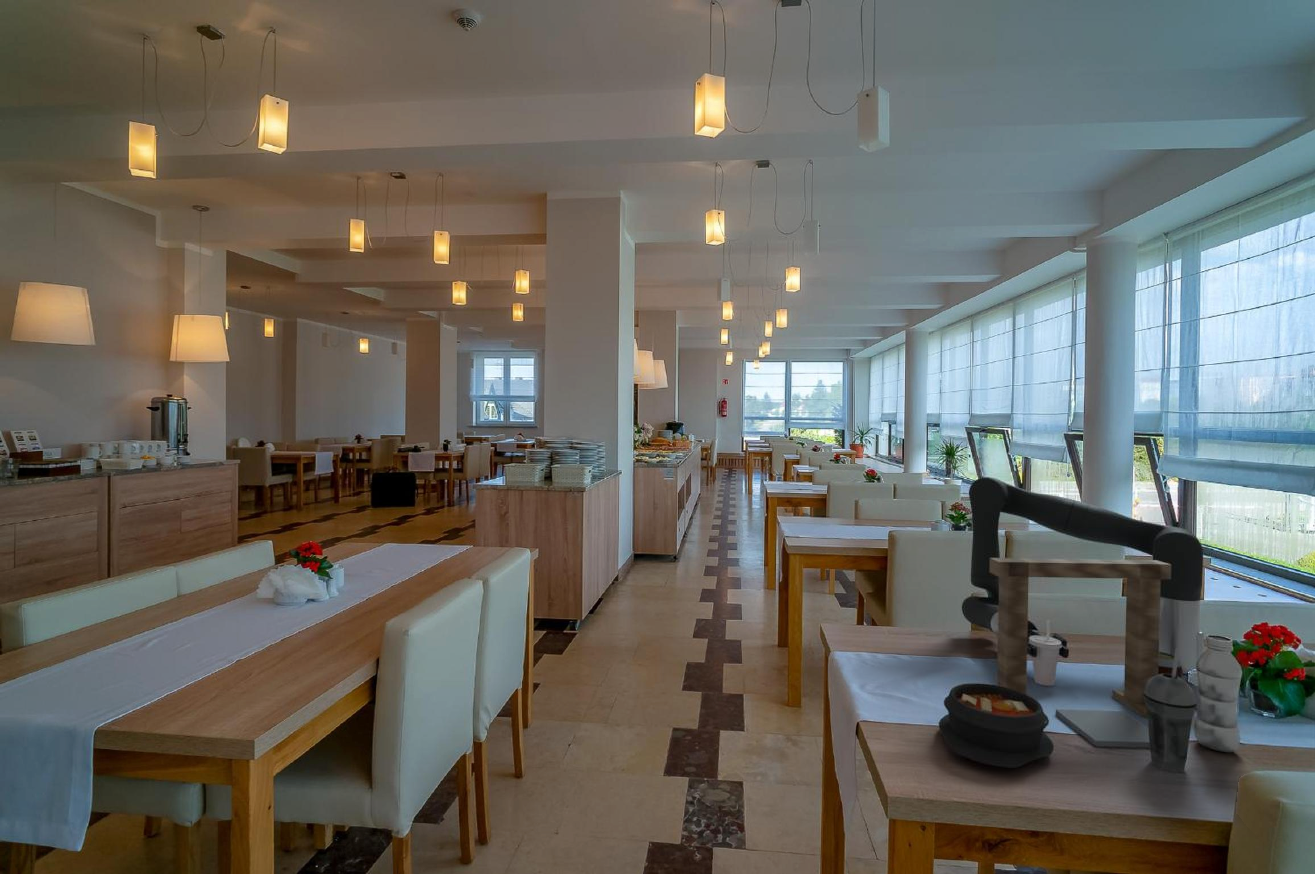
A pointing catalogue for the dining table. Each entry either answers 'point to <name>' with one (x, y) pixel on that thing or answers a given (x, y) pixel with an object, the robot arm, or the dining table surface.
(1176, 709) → the beverage cup
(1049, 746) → the casserole
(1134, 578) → the archway
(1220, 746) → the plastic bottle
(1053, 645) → the smoothie
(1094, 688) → the dining table surface
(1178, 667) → the mate gourd
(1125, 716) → the mat
